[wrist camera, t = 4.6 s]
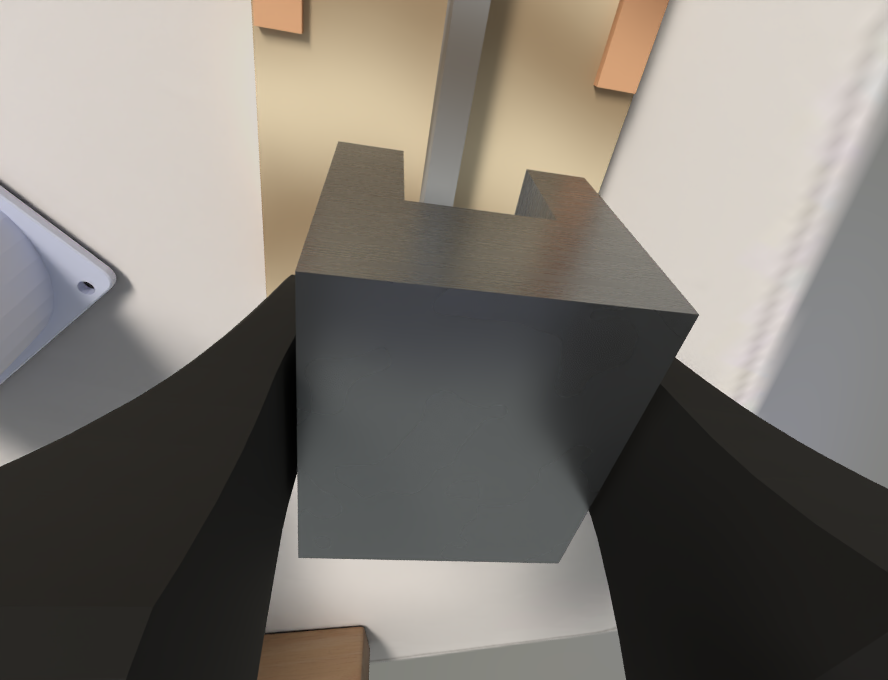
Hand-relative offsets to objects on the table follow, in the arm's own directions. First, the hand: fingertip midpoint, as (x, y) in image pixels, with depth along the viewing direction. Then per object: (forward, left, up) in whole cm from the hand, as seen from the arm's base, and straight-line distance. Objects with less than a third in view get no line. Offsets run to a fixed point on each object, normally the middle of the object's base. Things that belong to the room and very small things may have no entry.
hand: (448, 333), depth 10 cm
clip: (0, 0, -2) cm, 2 cm away
